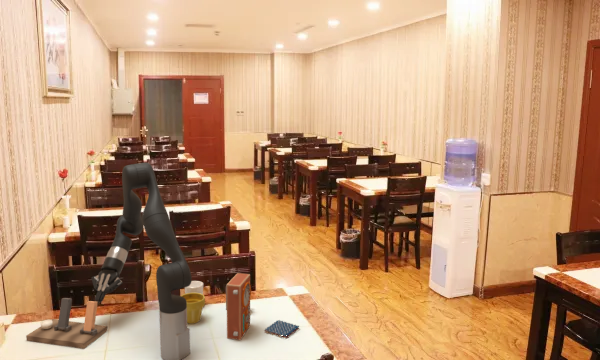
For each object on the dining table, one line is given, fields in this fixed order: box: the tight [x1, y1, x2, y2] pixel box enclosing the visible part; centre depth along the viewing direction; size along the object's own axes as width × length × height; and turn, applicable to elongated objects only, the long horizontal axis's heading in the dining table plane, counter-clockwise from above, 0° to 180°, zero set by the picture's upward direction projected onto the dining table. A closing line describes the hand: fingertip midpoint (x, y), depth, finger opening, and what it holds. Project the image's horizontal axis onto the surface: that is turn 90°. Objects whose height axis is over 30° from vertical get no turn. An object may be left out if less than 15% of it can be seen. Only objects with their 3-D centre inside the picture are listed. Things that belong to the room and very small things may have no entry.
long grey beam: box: [58, 297, 73, 330], centre depth 186 cm, size 3×2×12 cm, turn 77°
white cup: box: [184, 280, 204, 295], centre depth 212 cm, size 8×8×10 cm
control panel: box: [225, 272, 252, 341], centre depth 189 cm, size 21×7×15 cm
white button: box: [40, 319, 53, 329], centre depth 187 cm, size 4×4×2 cm
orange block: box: [83, 300, 99, 334], centre depth 184 cm, size 3×2×12 cm, turn 77°
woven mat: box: [263, 319, 300, 339], centre depth 192 cm, size 10×11×2 cm
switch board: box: [25, 318, 108, 350], centre depth 185 cm, size 24×14×4 cm, turn 77°
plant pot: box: [180, 293, 206, 325], centre depth 199 cm, size 10×10×10 cm
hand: (98, 301), depth 188 cm, fingers closed
